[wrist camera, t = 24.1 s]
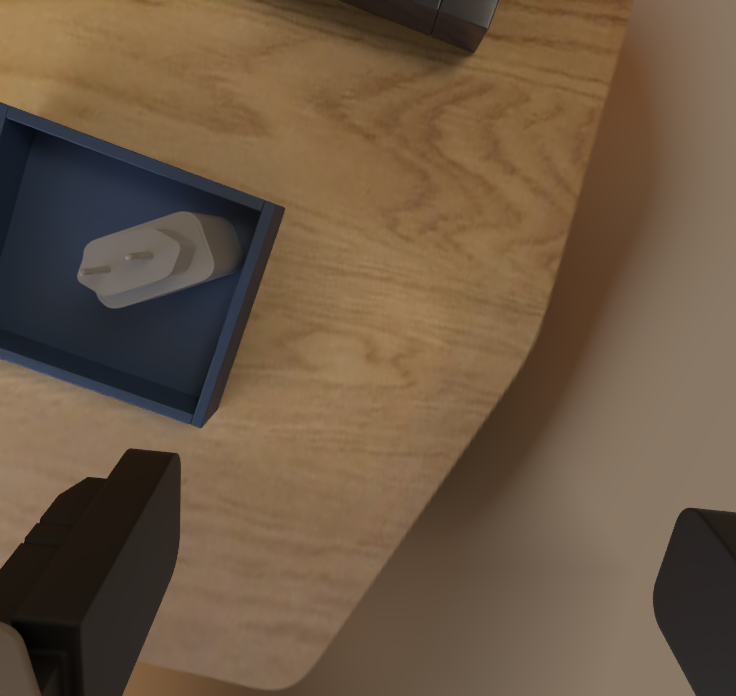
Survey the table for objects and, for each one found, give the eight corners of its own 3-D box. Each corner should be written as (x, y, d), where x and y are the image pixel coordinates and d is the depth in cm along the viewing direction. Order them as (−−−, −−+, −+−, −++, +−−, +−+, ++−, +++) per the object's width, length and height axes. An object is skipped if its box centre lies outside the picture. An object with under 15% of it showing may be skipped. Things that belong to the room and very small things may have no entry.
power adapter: (248, 268, 36) (189, 282, 24) (155, 298, 36) (51, 327, 24) (229, 212, 35) (159, 199, 23) (135, 244, 35) (18, 246, 24)
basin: (285, 207, 36) (276, 204, 32) (217, 410, 38) (201, 429, 34) (35, 115, 35) (-4, 100, 31) (-22, 326, 37) (-65, 336, 33)
